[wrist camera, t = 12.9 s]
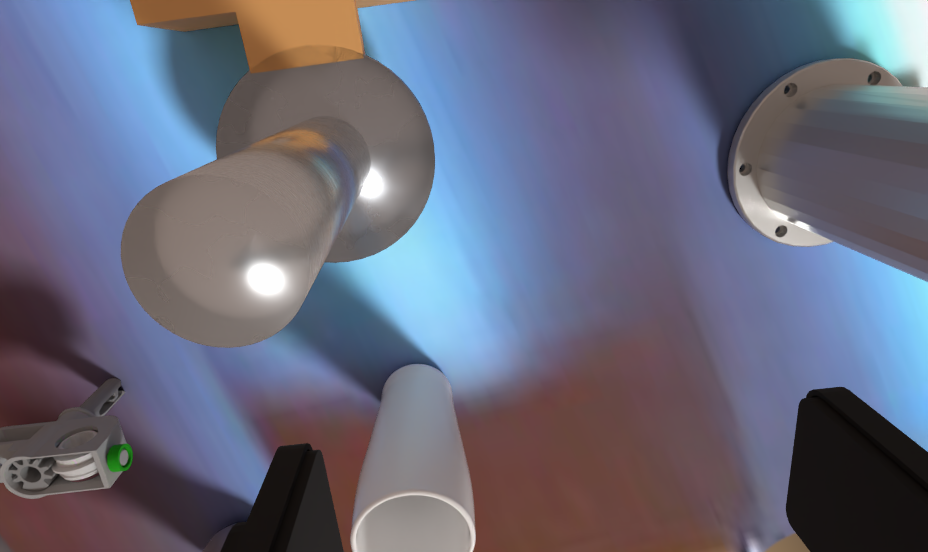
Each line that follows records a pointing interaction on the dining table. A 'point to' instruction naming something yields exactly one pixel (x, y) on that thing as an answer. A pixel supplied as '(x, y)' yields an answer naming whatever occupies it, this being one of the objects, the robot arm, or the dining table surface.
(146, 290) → the post
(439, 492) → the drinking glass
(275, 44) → the bracket head
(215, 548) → the plastic bottle
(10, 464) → the mechanical component
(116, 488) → the dining table surface
